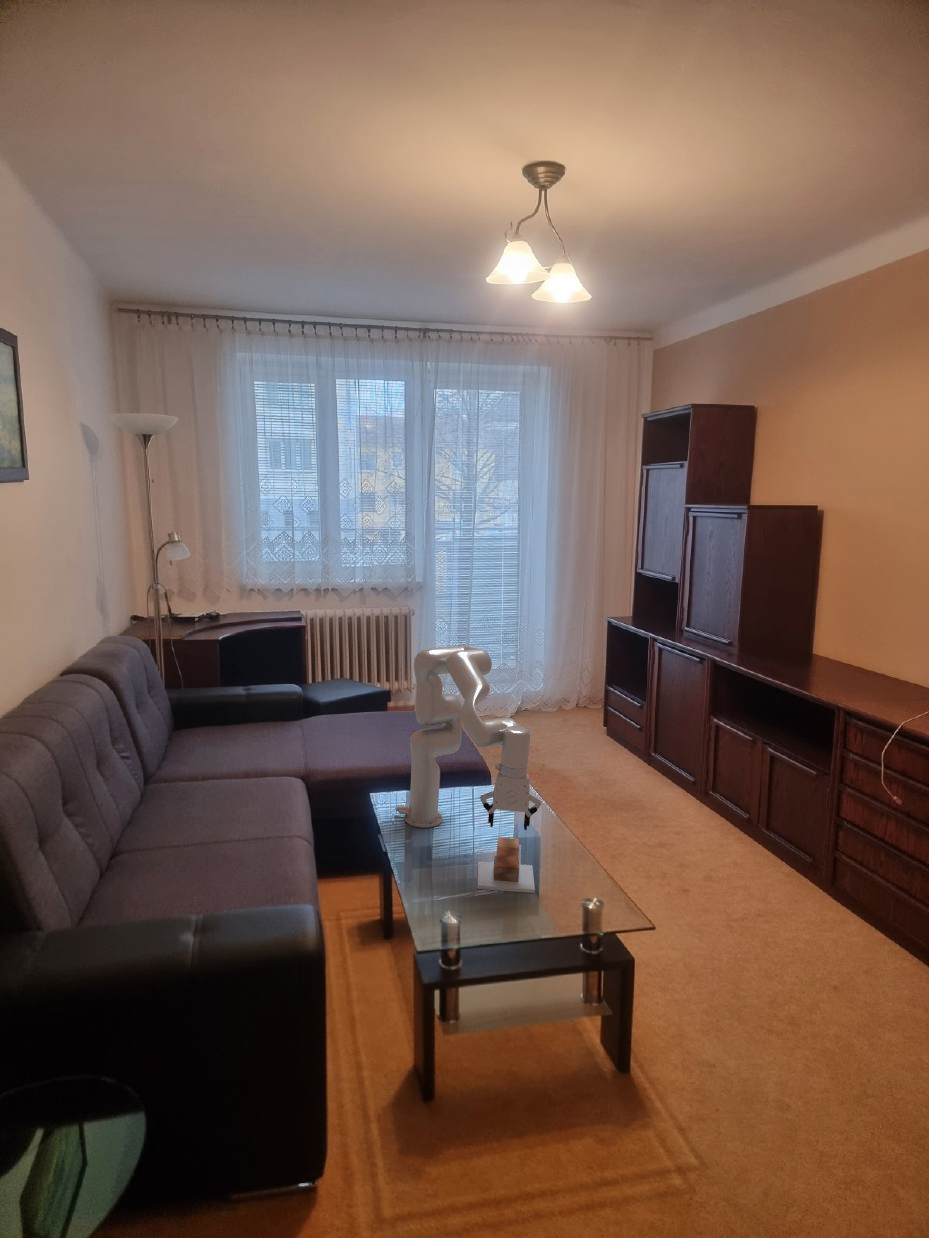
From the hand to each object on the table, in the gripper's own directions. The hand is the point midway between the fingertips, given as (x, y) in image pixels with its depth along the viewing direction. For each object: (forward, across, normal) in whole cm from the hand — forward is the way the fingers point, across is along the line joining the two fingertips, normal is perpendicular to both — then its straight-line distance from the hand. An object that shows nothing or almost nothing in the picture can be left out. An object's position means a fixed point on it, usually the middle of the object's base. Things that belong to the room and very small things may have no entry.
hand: (508, 826), depth 217 cm
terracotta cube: (+11, 0, -1) cm, 11 cm away
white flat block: (+16, 0, -1) cm, 16 cm away
